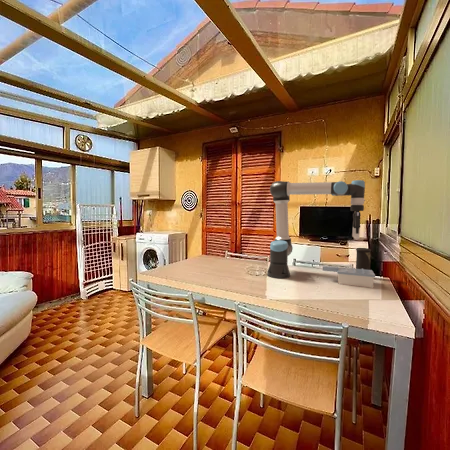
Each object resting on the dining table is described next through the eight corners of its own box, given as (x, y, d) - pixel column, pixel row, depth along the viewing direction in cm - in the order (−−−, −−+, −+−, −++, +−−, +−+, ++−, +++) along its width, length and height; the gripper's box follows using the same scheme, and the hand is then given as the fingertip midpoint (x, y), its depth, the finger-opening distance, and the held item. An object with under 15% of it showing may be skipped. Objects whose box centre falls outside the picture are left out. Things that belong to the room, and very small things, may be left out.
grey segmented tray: (322, 272, 150) (322, 268, 150) (323, 267, 162) (323, 264, 162) (374, 277, 139) (375, 272, 139) (371, 272, 151) (371, 268, 151)
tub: (338, 285, 148) (338, 273, 147) (337, 280, 159) (338, 269, 158) (373, 289, 140) (373, 276, 140) (370, 283, 151) (370, 272, 151)
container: (372, 279, 159) (373, 249, 158) (357, 279, 161) (358, 248, 160) (367, 276, 168) (368, 247, 167) (353, 275, 170) (354, 246, 168)
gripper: (366, 204, 146) (364, 240, 147) (361, 205, 168) (360, 236, 170) (352, 204, 148) (350, 239, 150) (349, 205, 171) (347, 235, 173)
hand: (355, 237), depth 160 cm, fingers open, 13 cm apart
